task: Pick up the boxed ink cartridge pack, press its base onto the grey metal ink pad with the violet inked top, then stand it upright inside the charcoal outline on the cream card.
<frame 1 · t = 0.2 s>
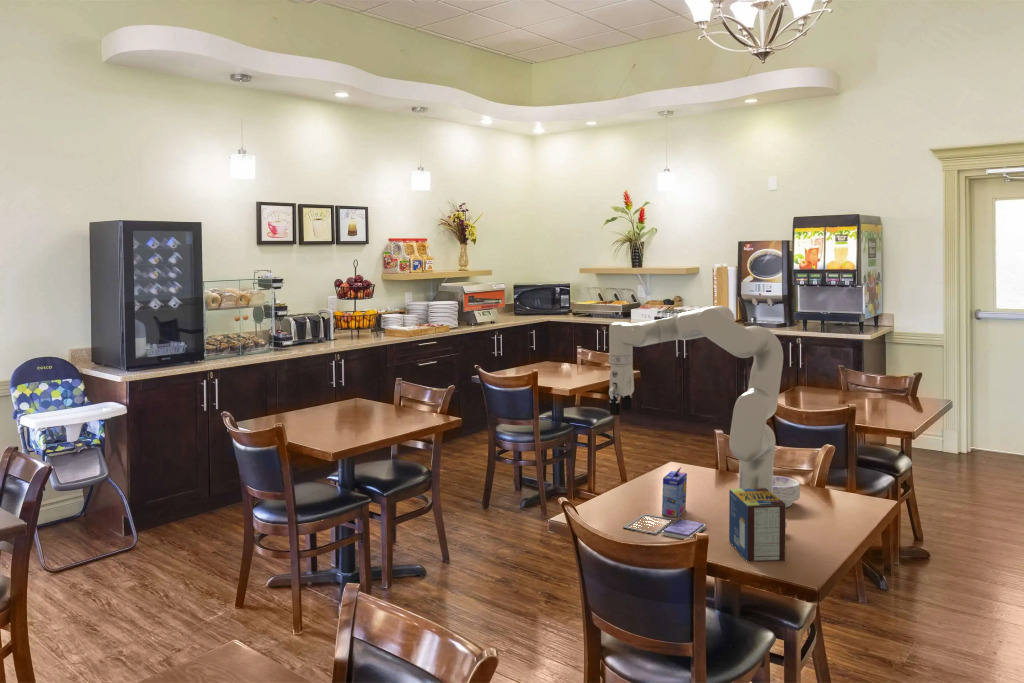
hand: (621, 412, 250), 31 cm above the table, tool pointing down, fingers open, 9 cm apart
marked card: (649, 524, 232), on the table
protein box: (755, 551, 210), on the table
ink cartridge box: (674, 513, 244), on the table
ink pad: (684, 531, 226), on the table
paper bowls: (774, 504, 250), on the table
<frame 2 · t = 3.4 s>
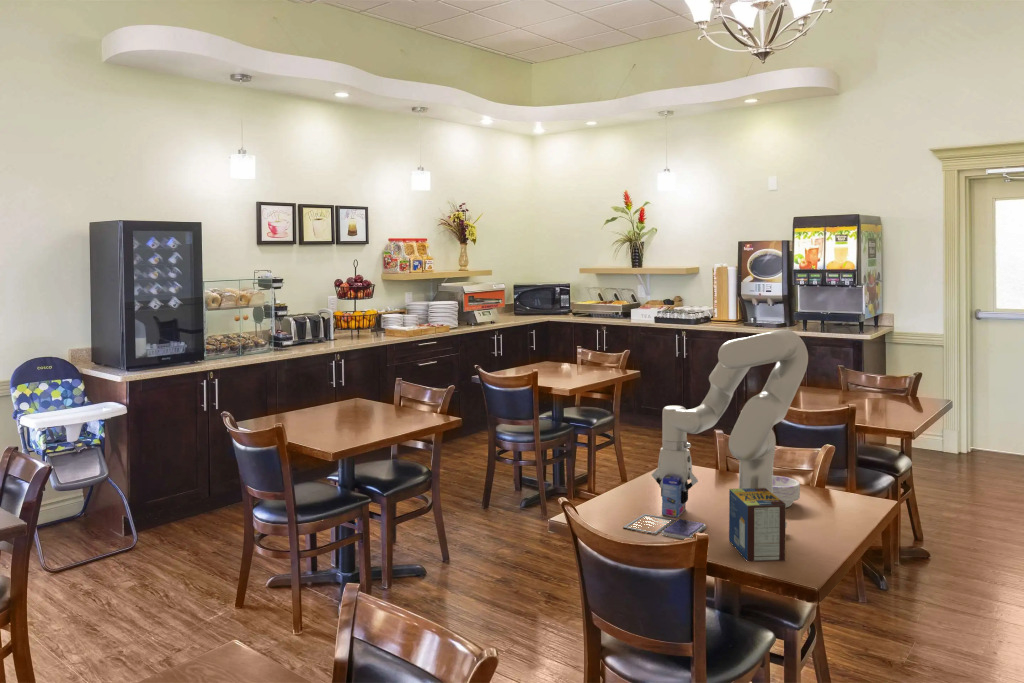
hand: (674, 500, 243), 4 cm above the table, tool pointing down, fingers closed on ink cartridge box, 5 cm apart
ink cartridge box: (674, 512, 244), on the table, touching gripper
everything else where it was.
when the fingers open (5 cm above the table, at t = 15.5 s): ink cartridge box drops 1 cm, resting on marked card.
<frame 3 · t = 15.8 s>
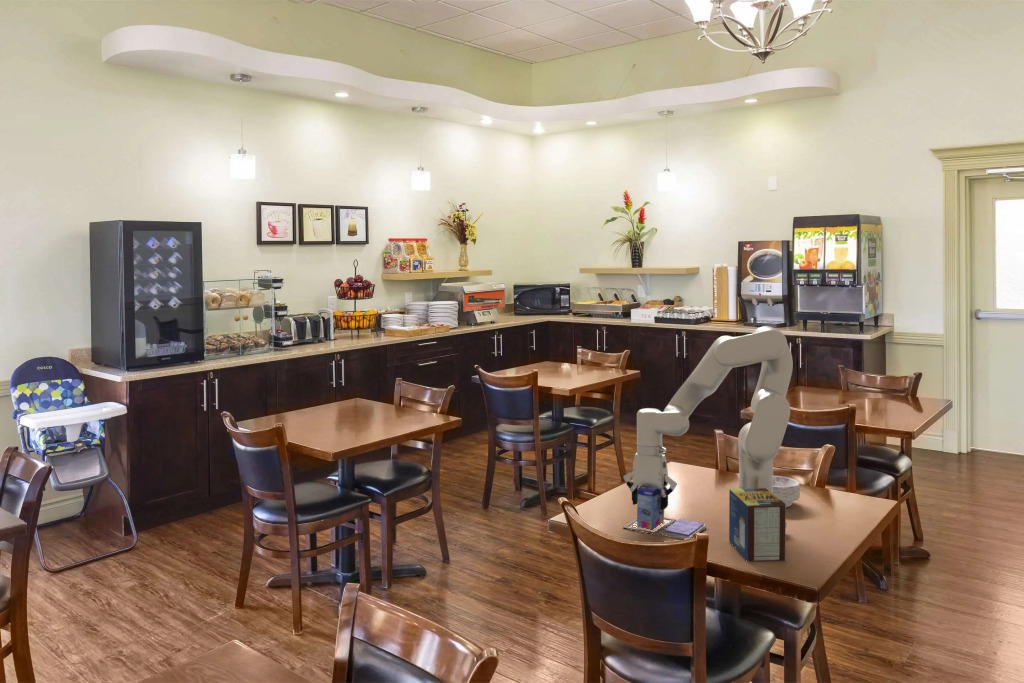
hand: (649, 506, 232), 6 cm above the table, tool pointing down, fingers open, 8 cm apart
ink cartridge box: (651, 524, 232), resting on marked card
everything else where it was.
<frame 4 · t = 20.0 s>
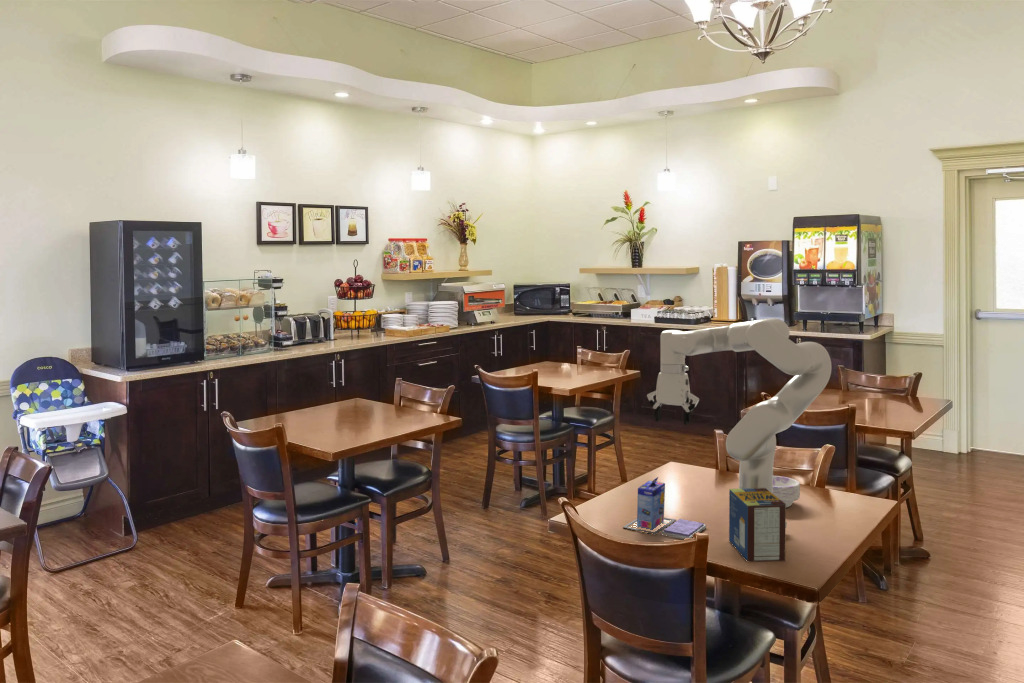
hand: (672, 422, 244), 28 cm above the table, tool pointing down, fingers open, 9 cm apart
nothing on the table moved.
at the end: ink cartridge box 0.4 cm off-centre on the marked card, point 0.0 cm above the marked card's base; ink cartridge box tilted 0°; the gripper is holding nothing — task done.
